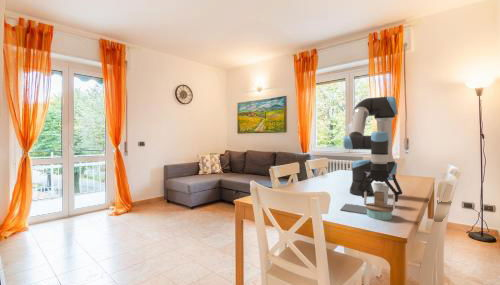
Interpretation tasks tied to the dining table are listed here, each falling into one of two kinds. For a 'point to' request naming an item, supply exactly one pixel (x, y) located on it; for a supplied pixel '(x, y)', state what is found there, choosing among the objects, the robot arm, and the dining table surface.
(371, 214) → the bowl
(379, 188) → the cup
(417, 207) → the dining table surface
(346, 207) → the mat
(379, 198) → the lid
